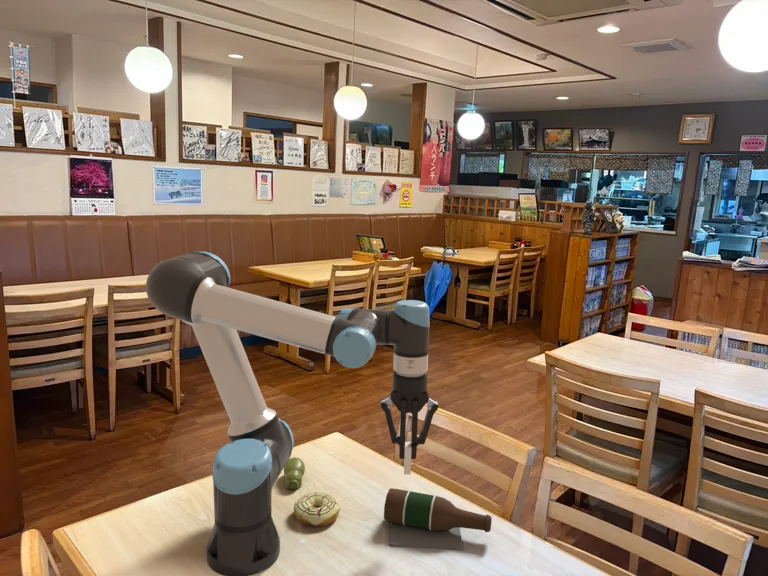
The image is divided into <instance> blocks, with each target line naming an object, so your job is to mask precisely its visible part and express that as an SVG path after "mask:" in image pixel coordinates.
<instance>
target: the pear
mask: <svg viewBox="0 0 768 576" xmlns="http://www.w3.org/2000/svg"><path fill="white" fill-rule="evenodd" d="M305 471H306V466H305V462H304V461H303V459H301V458H299V457H295V456H294V457H290V458H289V460H288V462H287V464H286V465H285V466H284V468H283V476H284V484H283V486H284V487H285V490H300V488H301V487H302V486H303V480H302V479H303V476H304V474H305Z"/></svg>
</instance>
